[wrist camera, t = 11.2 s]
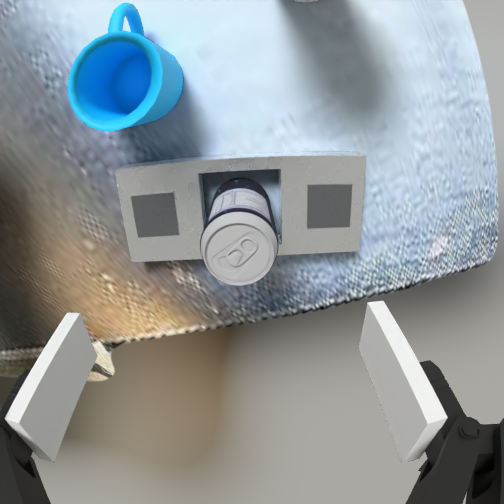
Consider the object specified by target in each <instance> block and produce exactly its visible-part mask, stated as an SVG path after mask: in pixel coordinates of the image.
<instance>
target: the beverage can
mask: <svg viewBox="0 0 504 504" xmlns="http://www.w3.org/2000/svg"><path fill="white" fill-rule="evenodd" d="M278 247H279V246H278V238H277V233H276V229H275V224H274V220H273V215H272V211H271V207H270V202H269V198H268V195H267V193H266V191H265V190H264V189H263V187H262V186H261V185H259V184H258V183H257V182H255V181H253V180H250V179H246V178H236V179H232V180H229V181H227V182H225V183H224V184H223V185H221V186H220V187H219V189H218V190H217V191H216V193H215V195H214V198H213V201H212V204H211V207H210V210H209V213H208V216H207V219H206V222H205V226H204V229H203V232H202V235H201V239H200V252H201V255H202V258H203V260H204V262H205V265H206V267H207V269H208V270H209V271H210V273H211V274H212V275H213V276H214V277H215V278H217V279H218V280H220V281H222V282H224V283H227V284H230V285H237V286H241V285H248V284H252V283H254V282H256V281H258V280H260V279H261V278H263V277H264V276H265V275H266V274H267V273H268V271H269V270H270V268H271V266H272V265H273V263H274V261H275V259H276V257H277V254H278Z"/></svg>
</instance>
